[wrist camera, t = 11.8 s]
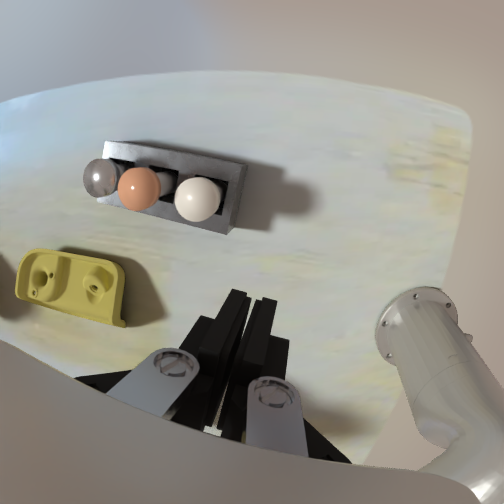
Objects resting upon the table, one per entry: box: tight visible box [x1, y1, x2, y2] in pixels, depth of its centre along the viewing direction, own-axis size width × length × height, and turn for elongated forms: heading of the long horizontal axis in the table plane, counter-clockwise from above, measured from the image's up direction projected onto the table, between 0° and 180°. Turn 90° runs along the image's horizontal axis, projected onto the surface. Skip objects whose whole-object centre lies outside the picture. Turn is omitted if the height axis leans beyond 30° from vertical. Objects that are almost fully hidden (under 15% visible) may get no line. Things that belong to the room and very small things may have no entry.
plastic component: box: [15, 249, 126, 328], centre depth 46 cm, size 20×7×10 cm
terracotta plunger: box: [118, 167, 178, 211], centre depth 35 cm, size 4×4×8 cm
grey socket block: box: [97, 141, 248, 235], centre depth 39 cm, size 18×8×4 cm, turn 77°
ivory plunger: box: [175, 177, 228, 222], centre depth 36 cm, size 4×4×8 cm
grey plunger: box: [83, 159, 135, 198], centre depth 37 cm, size 4×4×8 cm
